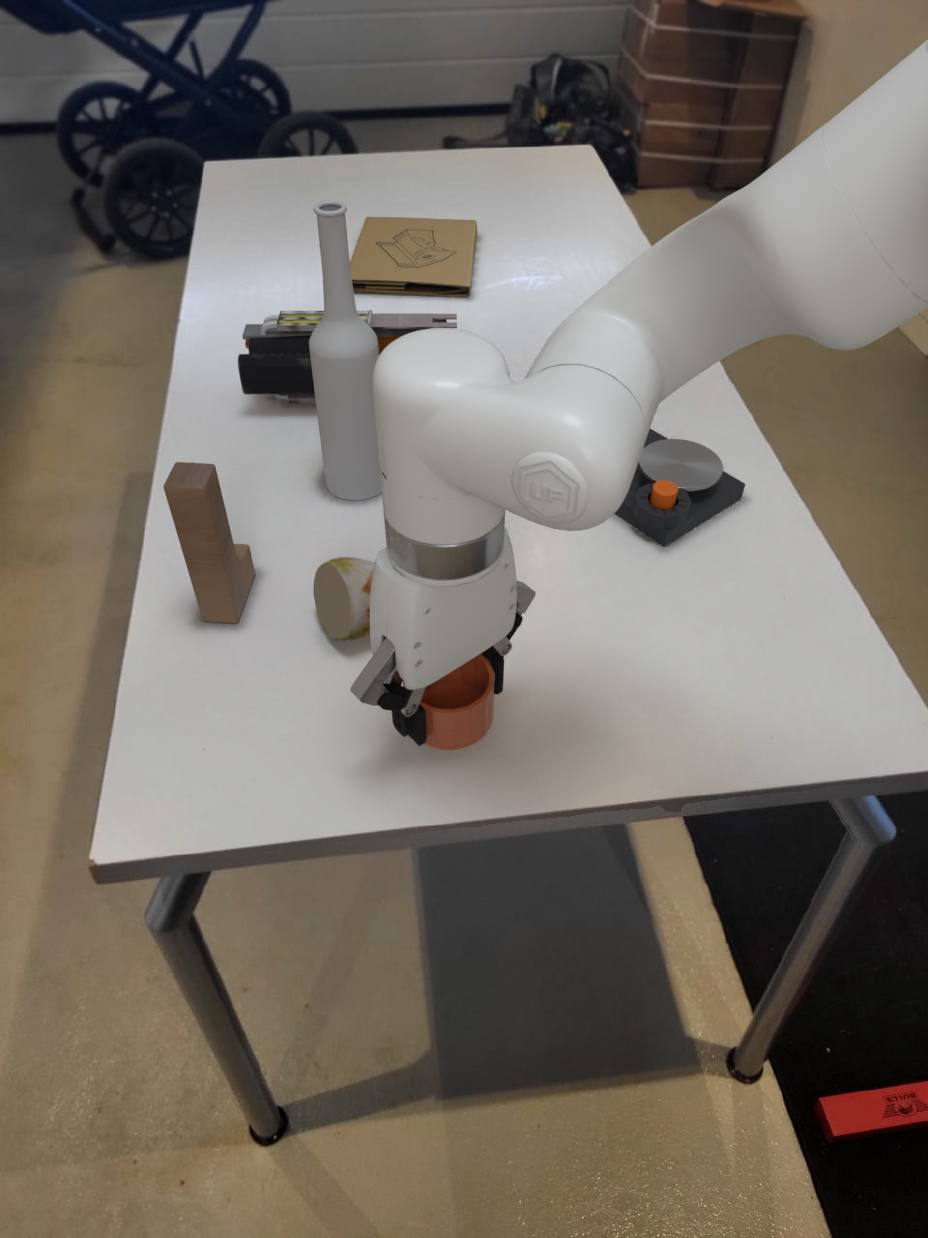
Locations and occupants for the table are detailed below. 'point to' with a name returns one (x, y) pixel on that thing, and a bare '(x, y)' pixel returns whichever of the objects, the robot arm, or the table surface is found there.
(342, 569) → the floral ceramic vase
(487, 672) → the cup
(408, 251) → the box
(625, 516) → the scale
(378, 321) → the mechanical component
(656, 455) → the brushed metal disc
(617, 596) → the table surface
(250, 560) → the wooden block
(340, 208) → the bottle
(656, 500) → the button
